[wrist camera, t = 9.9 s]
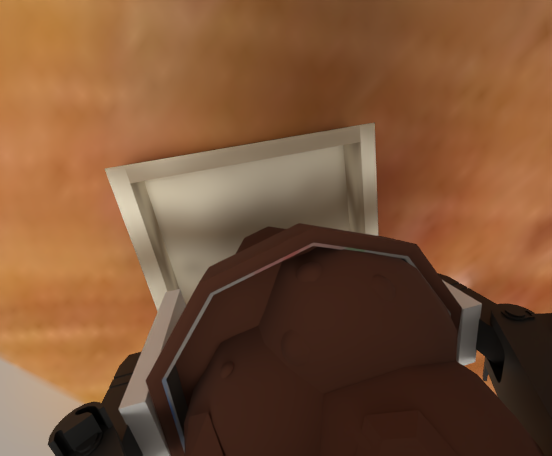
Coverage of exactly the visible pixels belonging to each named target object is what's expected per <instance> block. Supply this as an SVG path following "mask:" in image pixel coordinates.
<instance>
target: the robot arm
mask: <svg viewBox="0 0 552 456" xmlns="http://www.w3.org/2000/svg"><path fill="white" fill-rule="evenodd" d="M437 274H438V273H437ZM438 275H439V276H440V278H441V279H442V281H443V282H444V283H445V285H446V286H447V288H448V289H449V290H450V292H451V293H452V295H453V296H454V297H455V299H456V300H457V302H458V303H459V304H460V306H461V307H462V311H461V318H460V324H459V331H458V338H457V358H456V361H457V362H459V363H460V364H462V365H463V366H464V365H467V364H470V363H473V362H475V358H476V350H478V351H479V352H480V353H482V354H483V355H484V356H485V362H484V370H483V380H484V381H487V376H488V375H489V376H490V379H491V381H492V384H493V386H494V388H495V391H496V393H497V396H498V398H499V399H500V400H501V401H502V402H503V403H504V404H505V406H506V407H507V408H508V409H509V410H510V411H511V412H512V413H513V414H514V415H515V417H516V418H517V419H518V420H519V421H520V423H521V424H522V425H523V427H524V428H525V429H526V430H527V432H528V433H529V434H530V435H531V437H532V438H533V439H534V440H535V442H536V443H537V444H538V445H539V447H540V448H541V450H542V452H543V454H544V456H552V313H546V314H535V313H534V312H532V311H530V310H528V309H526V308H524V307H521V306H518V305H513V304H498V305H497V304H496V303H494V302H492V301H490V300H489V299H487V298H485V297H483V296H482V295H480V294H478V293H476V292H474V291H473V290H471V289H469V288H468V289H467V287H466V286H464V285H462V284H459V282H457V281H455V280H453V279H452V278H450V277H448V276H445V275H442V274H438ZM185 307H186V305H185V302H184V299H183V296H182V293H181V290H180V289H177V290H173V291H168V292H166V293H165V295H164V298H163V300H162V303H161V305H160V308H159V310H158V312H157V315H156V317H155V320H154V322H153V325H152V327H151V330H150V332H149V335H148V337H147V340H146V342H145V345H144V347H143V350H142V352H139V353H135V354H131V355H129V356H128V357H127V358H126V359H125V360H124V361H123V363H122V364H121V365H120V366H119V368H118V370H117V372H116V374H115V376H114V380H112V383H111V385H110V387H109V389H108V391H107V393H106V395H105V397H104V399H103V401H102V403H100V402H91V403H87V404H84V405H82V406H80V407H78V408H76V409H74V410H73V411H72V412H71V413H69V414H68V415H67V416H65V417H64V418H63V419H62V420H61V421H60V422H59V424H58V425H57V426H56V427H55V428H54V430H53V432H52V433H51V435H50V437H49V442H48V445H49V447H50V448H51V450H52V451H53V453H54V454H55V456H171V454H170V451H169V448H168V445H167V442H166V440H165V437H164V434H163V431H162V428H161V425H160V422H159V419H158V416H157V413H156V410H155V407H154V404H153V401H152V398H151V395H150V393H149V390H148V387H147V384H146V379H147V377H148V375H149V373H150V371H151V370H152V368H153V366H154V364H155V362H156V360H157V359H158V357H159V355H160V353H161V351H162V349H163V348H164V346H165V344H166V342H167V340H168V338H169V336H170V335H171V333H172V331H173V329H174V327H175V325H176V324H177V322H178V320H179V318H180V316H181V314H182V313H183V311H184V309H185Z"/></svg>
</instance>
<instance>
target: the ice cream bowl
mask: <svg viewBox="0 0 552 456" xmlns="http://www.w3.org/2000/svg"><path fill="white" fill-rule="evenodd" d="M461 311H462V307H461V306H460V304H459V303H458V302H457V300H456V299H455V297H454V296H453V295H452V293H451V292H450V290H449V289H448V288H447V286H446V285H445V283H444V282H443V281H442V279H441V278H440V276H439V275H438V274H437V272H436V271H435V269H434V268H433V267H432V265H431V264H430V262H429V261H428V260H427V258H426V257H425V255H424V254H423V253H422V251H421V250H420V249H419V247H418V246H417V244H413V243H409V242H404V241H400V240H396V239H391V238H387V237H382V236H376V235H370V234H364V233H357V232H351V231H345V230H339V229H333V228H326V227H320V226H314V225H308V224H302V223H298V224H296V225H294V226H292V227H290V228H288V229H283V228H276V227H270V226H268V227H266V228H264V229H261V230H259V231H257V232H255V233H253V234H251V235H249V236H247V237H245V238H244V239H243V241H242V243H241V245H240V246H239V248H238V250H237V252H236V254H234V255H232V256H230V257H228V258H226V259H224V260H222V261H220V262H218V263H216V264H214V265H212V266H210V267H209V268H208V269H207V271H206V272H205V274H204V275H203V277H202V278H201V280H200V282H199V283H198V285H197V287H196V289H195V290H194V292H193V294H192V296H191V298H190V300H189V301H188V303H187V305H186V307H185V309H184V311H183V313H182V314H181V316H180V318H179V320H178V322H177V324H176V325H175V327H174V329H173V331H172V333H171V335H170V336H169V338H168V340H167V342H166V344H165V346H164V348H163V349H162V351H161V353H160V355H159V357H158V359H157V360H156V362H155V364H154V366H153V368H152V370H151V371H150V373H149V375H148V377H147V379H146V384H147V387H148V390H149V393H150V395H151V398H152V401H153V404H154V407H155V410H156V413H157V416H158V419H159V422H160V425H161V428H162V431H163V434H164V437H165V440H166V442H167V445H168V448H169V451H170V454H171V456H544V454H543V452H542V450H541V448H540V447H539V445H538V444H537V443H536V442H535V440H534V439H533V438H532V437H531V435H530V434H529V433H528V432H527V430H526V429H525V428H524V427H523V425H522V424H521V423H520V421H519V420H518V419H517V418H516V417H515V415H514V414H513V413H512V412H511V411H510V410H509V409H508V408H507V407H506V406H505V404H504V403H503V402H502V401H501V400H500V399H499V398H498V397H497V396H496V395H495V394H494V392H493V391H492V390H491V389H490V388H489V387H488V386H487V385H486V384H485V383H484V381H483V380H482V379H481V378H480V377H479V376H478V375H477V374H475V373H474V372H472V371H471V370H469V369H468V368H466V367H465V366H463V365H462V364H460V363H459V362H457V361H456V358H457V338H458V331H459V324H460V318H461Z"/></svg>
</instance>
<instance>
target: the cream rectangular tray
mask: <svg viewBox="0 0 552 456" xmlns="http://www.w3.org/2000/svg"><path fill="white" fill-rule="evenodd" d="M105 171H106V174H107V176H108V179H109V182H110V185H111V187H112V190H113V193H114V195H115V198H116V201H117V203H118V206H119V209H120V211H121V214H122V217H123V220H124V222H125V225H126V228H127V230H128V233H129V236H130V238H131V241H132V244H133V246H134V249H135V252H136V254H137V257H138V260H139V263H140V265H141V268H142V271H143V273H144V276H145V279H146V281H147V284H148V287H149V289H150V292H151V295H152V298H153V300H154V303H155V306H156V308H157V311H158V310H159V308H160V305H161V303H162V300H163V298H164V295H165V293H166V292H168V291H173V290H177V289H180V290H181V293H182V296H183V299H184V302H185V305H187V303H188V301H189V300H190V298H191V296H192V294H193V292H194V290H195V289H196V287H197V285H198V283H199V282H200V280H201V278H202V277H203V275H204V274H205V272H206V271H207V269H208V268H209V267H210V266H212V265H214V264H216V263H218V262H220V261H222V260H224V259H226V258H228V257H230V256H232V255H234V254H236V252H237V250H238V248H239V246H240V245H241V243H242V241H243V239H244V238H245V237H247V236H249V235H251V234H253V233H255V232H257V231H259V230H261V229H264V228H266V227H268V226H270V227H276V228H283V229H288V228H290V227H292V226H294V225H296V224H298V223H302V224H308V225H314V226H320V227H326V228H333V229H339V230H345V231H351V232H357V233H364V234H370V235H376V236H378V208H377V179H376V150H375V123H369V124H363V125H357V126H352V127H346V128H340V129H334V130H328V131H322V132H317V133H311V134H305V135H299V136H293V137H287V138H282V139H276V140H270V141H264V142H258V143H252V144H246V145H241V146H235V147H229V148H223V149H217V150H211V151H206V152H200V153H194V154H188V155H182V156H176V157H171V158H165V159H159V160H153V161H147V162H141V163H136V164H130V165H124V166H118V167H112V168H106V169H105Z"/></svg>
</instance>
